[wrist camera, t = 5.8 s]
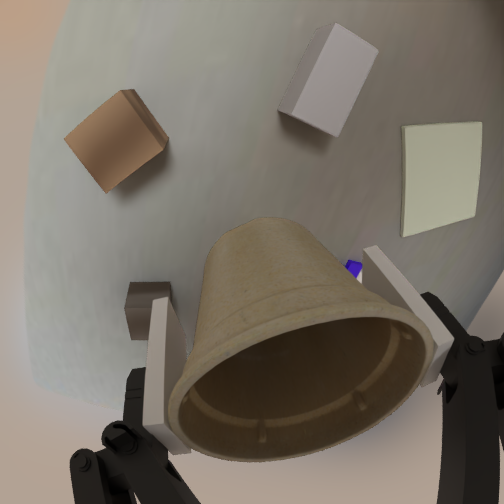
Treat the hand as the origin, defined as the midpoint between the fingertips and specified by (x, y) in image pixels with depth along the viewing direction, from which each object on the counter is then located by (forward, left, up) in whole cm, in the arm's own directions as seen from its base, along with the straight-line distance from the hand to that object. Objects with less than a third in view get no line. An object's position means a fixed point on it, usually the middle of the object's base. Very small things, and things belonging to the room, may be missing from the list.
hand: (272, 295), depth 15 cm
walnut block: (-8, -7, -14) cm, 17 cm away
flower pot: (0, 0, -2) cm, 2 cm away
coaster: (+2, +23, -14) cm, 27 cm away
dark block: (+8, -10, -14) cm, 19 cm away
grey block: (-9, +9, -14) cm, 19 cm away
